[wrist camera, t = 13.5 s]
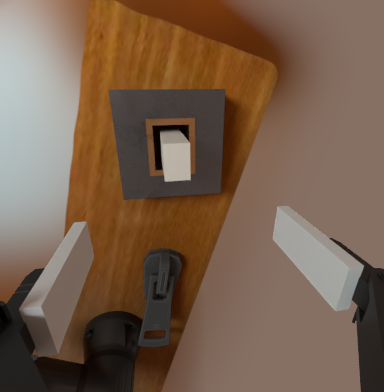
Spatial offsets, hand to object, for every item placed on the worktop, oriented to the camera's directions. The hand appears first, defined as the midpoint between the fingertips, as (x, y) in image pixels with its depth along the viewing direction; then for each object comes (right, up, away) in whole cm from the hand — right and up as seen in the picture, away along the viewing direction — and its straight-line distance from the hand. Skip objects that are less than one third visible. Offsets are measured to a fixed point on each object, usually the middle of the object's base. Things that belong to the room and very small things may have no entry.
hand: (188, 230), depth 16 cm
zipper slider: (-8, -21, +43) cm, 49 cm away
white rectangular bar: (-4, +13, +29) cm, 32 cm away
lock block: (-4, +13, +29) cm, 32 cm away
